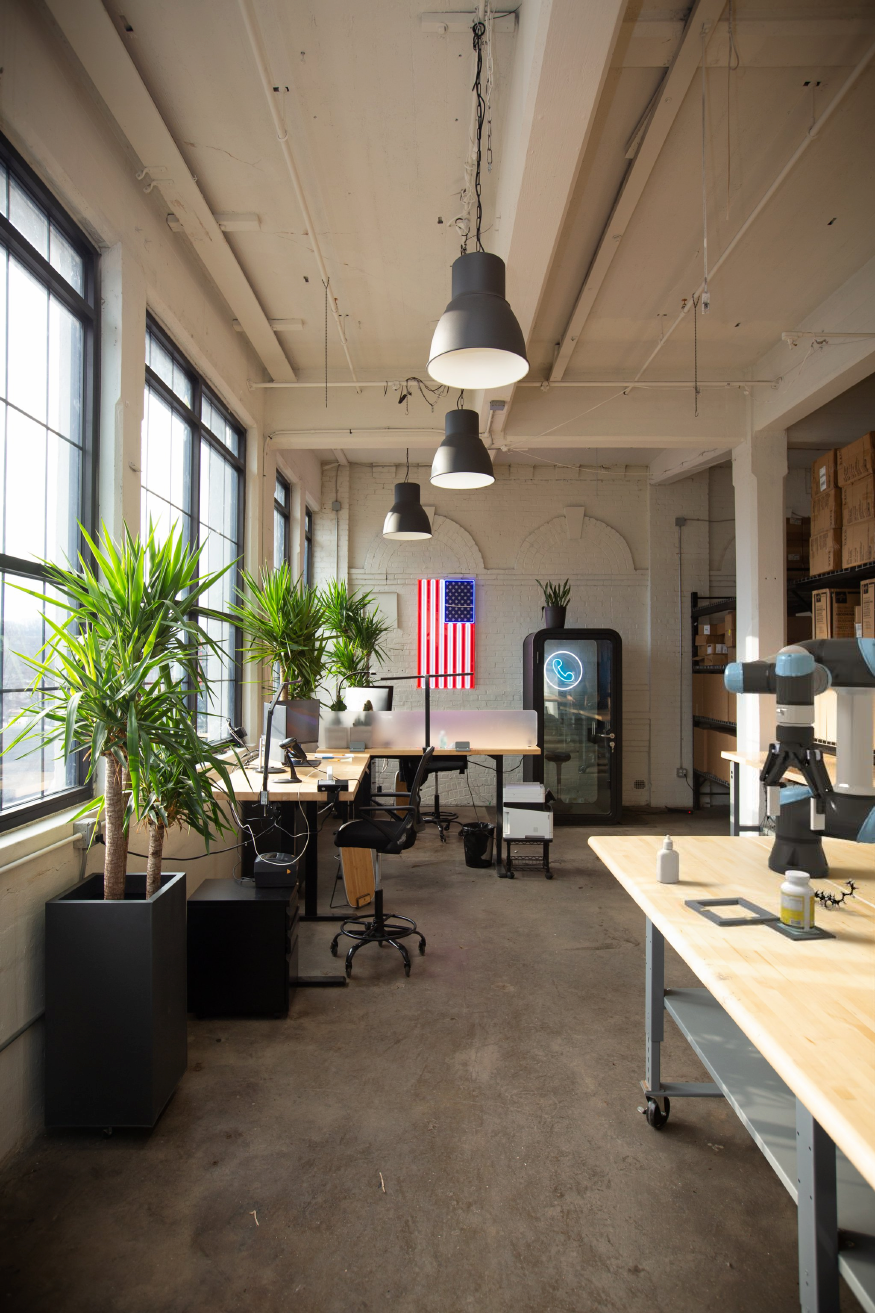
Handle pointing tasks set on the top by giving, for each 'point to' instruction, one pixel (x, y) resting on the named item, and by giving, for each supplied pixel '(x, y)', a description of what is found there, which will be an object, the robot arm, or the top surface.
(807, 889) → the pill bottle
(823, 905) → the molecular model
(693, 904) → the socket plate
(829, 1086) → the top surface
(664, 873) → the eye dropper bottle
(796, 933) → the mat
